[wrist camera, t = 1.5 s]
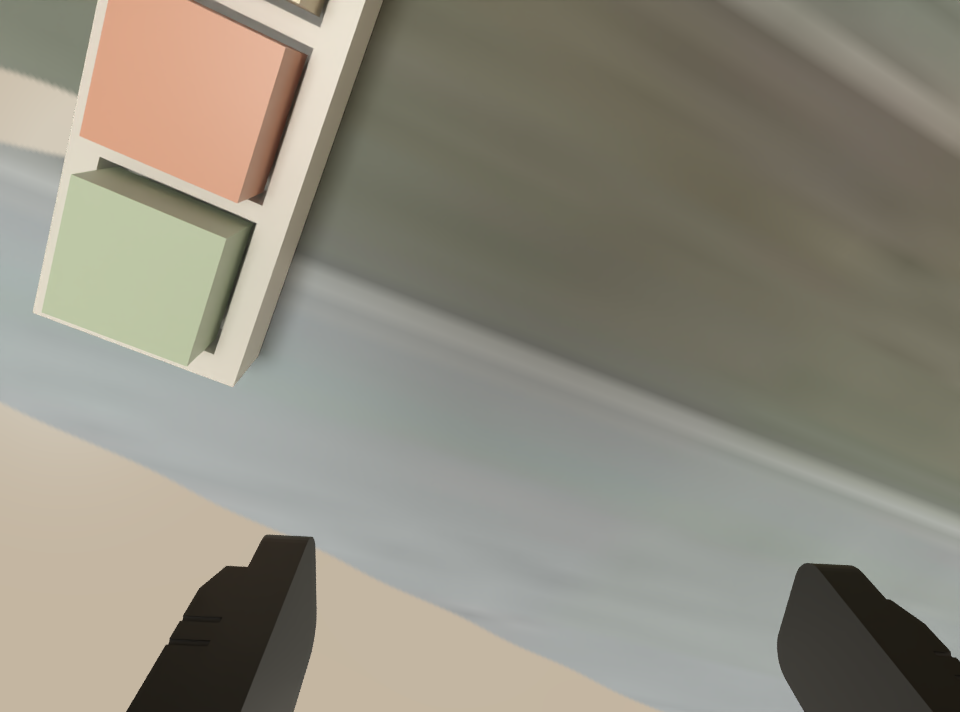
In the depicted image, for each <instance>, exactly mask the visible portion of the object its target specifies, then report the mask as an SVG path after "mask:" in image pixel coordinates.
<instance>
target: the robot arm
mask: <svg viewBox="0 0 960 712" xmlns="http://www.w3.org/2000/svg"><path fill="white" fill-rule="evenodd" d="M315 628H316V559H315V541H314V538H313V537H304V536H284V535H265V536H264V537H263V539H262V541H261V542H260V544H259V546H258V548H257V550H256V552H255V554H254V556H253V558H252V560H251V562H250V564H249V566H248V567H237V566H226V567H225V568H223V569H222V570H221V571H220V572H219V573H218V574H216V575H215V576H214V577H213V578H211V579H210V580H209V581H208V582H206V583H205V584H204V585H203V586H202V587H201V588H199V590H198V591H197V593H196V595H195V597H194V598H193V600H192V602H191V603H190V605H189V607H188V608H187V610H186V612H185V613H184V615H183V620H182V621H180V622H179V624H178V625H177V627H176V629H175V631H174V632H173V634H172V635H171V637H170V641H169V644H168V645H166V646H165V647H164V649H163V651H162V653H161V654H160V656H159V657H158V659H157V661H156V662H155V664H154V666H153V668H152V669H151V671H150V673H149V674H148V676H147V678H146V680H145V681H144V683H143V684H142V686H141V688H140V689H139V691H138V693H137V695H136V696H135V698H134V700H133V701H132V703H131V705H130V706H129V708H128V710H127V711H126V712H294V708H295V705H296V702H297V698H298V695H299V692H300V689H301V685H302V682H303V679H304V675H305V672H306V669H307V665H308V662H309V659H310V655H311V652H312V647H313V642H314V636H315ZM777 652H778V659H779V664H780V667H781V670H782V673H783V675H784V677H785V679H786V681H787V683H788V684H789V686H790V688H791V690H792V691H793V693H794V695H795V696H796V698H797V700H798V702H799V703H800V705H801V707H802V708H803V710H804V712H960V661H959V660H958V659H957V658H954V657H952V656H951V652H950V651H949V649H948V648H947V647H946V646H945V645H944V644H943V643H942V642H941V641H940V640H939V639H938V638H937V637H936V635H935V634H934V633H933V632H932V631H931V630H930V629H929V628H928V627H927V626H926V625H925V624H924V623H923V622H921V621H920V620H919V619H917V618H916V617H914V616H913V615H911V614H910V613H909V612H907V611H906V610H904V609H903V608H902V607H900V606H899V605H897V604H896V603H894V602H893V601H892V600H889V599H886V598H885V597H884V596H883V595H882V594H881V593H880V592H879V591H878V590H877V588H876V587H875V586H874V585H873V584H872V583H871V582H870V581H869V579H868V578H867V577H866V576H865V575H864V574H863V573H862V572H861V571H860V570H859V569H858V568H856V567H854V566H850V565H832V564H812V563H806V564H803V565H802V566H801V567H800V568H799V569H798V571H797V573H796V576H795V580H794V583H793V586H792V590H791V593H790V597H789V600H788V603H787V607H786V610H785V614H784V617H783V621H782V624H781V627H780V631H779V634H778V640H777Z"/></svg>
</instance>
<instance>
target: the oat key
mask: <svg viewBox="0 0 960 712" xmlns="http://www.w3.org/2000/svg"><path fill="white" fill-rule="evenodd" d="M285 1H288V2H290V3H292V4H294V5H296V6H298V7H300V8H302V9H304V10H306V11H308V12H310V13H312V14H314V15H316V16H318V17H320V15H321V12H322V9H323V5H324V2H325V0H285Z"/></svg>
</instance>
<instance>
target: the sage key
mask: <svg viewBox="0 0 960 712" xmlns="http://www.w3.org/2000/svg"><path fill="white" fill-rule="evenodd" d="M252 226H253V223H250V222H248V221H245V220H243V219H241V218H238V217H236V216H234V215H231V214H229V213H227V212H224V211H222V210H219V209H217V208H215V207H212V206H210V205H208V204H205V203H203V202H201V201H198V200H196V199H193V198H191V197H189V196H186V195H184V194H182V193H179V192H177V191H175V190H172V189H170V188H167V187H165V186H163V185H160V184H158V183H156V182H153V181H151V180H148V179H146V178H144V177H141V176H139V175H137V174H134V173H132V172H130V171H127V170H125V169H122V168H120V167H118V166H116V167H111V168H105V169H99V170H93V171H87V172H81V173H75V174H71V177H70V182H69V186H68V191H67V196H66V200H65V205H64V210H63V214H62V219H61V224H60V228H59V233H58V238H57V242H56V247H55V252H54V256H53V261H52V266H51V270H50V275H49V280H48V284H47V289H46V294H45V298H44V303H43V308H42V313H45V314H47V315H50V316H53V317H55V318H58V319H61V320H63V321H66V322H69V323H71V324H74V325H77V326H79V327H82V328H85V329H87V330H90V331H93V332H95V333H98V334H101V335H103V336H106V337H109V338H111V339H114V340H117V341H120V342H122V343H125V344H128V345H130V346H133V347H136V348H138V349H141V350H144V351H146V352H149V353H152V354H154V355H157V356H160V357H162V358H165V359H168V360H170V361H173V362H176V363H178V364H181V365H184V366H186V367H187V366H188V365H189V364H190V363H191V362H192V361H193V360H194V359H195V358H196V357H197V356H199V355H200V354H201V353H202V352H203V351H204V350H205V349H206V348H207V347H208V346H209V345H210V344H211V343H212V342H213V341H214V340H215V339H216V337H217V334H218V331H219V328H220V325H221V322H222V319H223V316H224V313H225V309H226V306H227V303H228V300H229V297H230V294H231V291H232V288H233V285H234V282H235V278H236V275H237V272H238V269H239V266H240V263H241V260H242V257H243V254H244V250H245V247H246V244H247V241H248V238H249V235H250V232H251V229H252Z"/></svg>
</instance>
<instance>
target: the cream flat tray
mask: <svg viewBox="0 0 960 712" xmlns="http://www.w3.org/2000/svg"><path fill="white" fill-rule="evenodd" d="M194 1H196V2H198V3H200V4H202V5H204V6H206V7H208V8H210V9H212V10H215V11H217V12H219V13H221V14H223V15H225V16H227V17H229V18H231V19H233V20H235V21H237V22H240V23H242V24H244V25H246V26H248V27H250V28H252V29H254V30H256V31H258V32H260V33H262V34H265V35H267V36H269V37H271V38H273V39H275V40H277V41H279V42H281V43H283V44H285V45H287V46H290V47H292V48H294V49H296V50H298V51H300V52H302V53H304V54H306V55H307V58H306V61H305V64H304V67H303V71H302V74H301V77H300V80H299V83H298V86H297V89H296V92H295V95H294V98H293V102H292V105H291V108H290V111H289V114H288V117H287V120H286V123H285V126H284V130H283V133H282V136H281V139H280V142H279V145H278V148H277V151H276V154H275V157H274V161H273V164H272V167H271V170H270V173H269V176H268V179H267V182H266V185H265V188H264V192H263V193H260V194H258V195H256V196H253V197H251V198H249V199H246V200H244V201H242V202H239V203H235V202H233V201H231V200H228V199H226V198H224V197H221V196H219V195H217V194H214V193H212V192H209V191H207V190H205V189H202V188H200V187H198V186H195V185H193V184H191V183H188V182H186V181H184V180H181V179H179V178H177V177H174V176H172V175H170V174H167V173H165V172H163V171H160V170H158V169H156V168H153V167H151V166H149V165H146V164H144V163H142V162H139V161H137V160H135V159H132V158H130V157H127V156H125V155H123V154H120V153H118V152H116V151H113V150H111V149H109V148H106V147H104V146H102V145H99V144H97V143H95V142H92V141H90V140H88V139H85V138H83V137H81V136H79V135H80V130H81V125H82V121H83V116H84V111H85V107H86V102H87V97H88V93H89V88H90V83H91V79H92V74H93V69H94V65H95V60H96V55H97V51H98V46H99V41H100V37H101V32H102V27H103V23H104V18H105V13H106V9H107V4H108V0H98V2H97V7H96V12H95V17H94V21H93V26H92V31H91V36H90V40H89V45H88V50H87V55H86V60H85V64H84V69H83V74H82V79H81V84H80V88H79V93H78V98H77V103H76V108H75V112H74V117H73V122H72V127H71V132H70V137H69V141H68V146H67V151H66V155H65V160H64V165H63V170H62V175H61V179H60V184H59V189H58V194H57V199H56V203H55V208H54V213H53V218H52V222H51V227H50V232H49V237H48V242H47V246H46V251H45V256H44V261H43V266H42V270H41V275H40V280H39V285H38V290H37V294H36V299H35V304H34V309H33V313H35V314H38V315H40V316H43V317H46V318H49V319H51V320H54V321H57V322H59V323H62V324H65V325H67V326H70V327H73V328H75V329H78V330H81V331H83V332H86V333H89V334H91V335H94V336H97V337H100V338H102V339H105V340H108V341H110V342H113V343H116V344H118V345H121V346H124V347H126V348H129V349H132V350H134V351H137V352H140V353H142V354H145V355H148V356H151V357H153V358H156V359H159V360H161V361H164V362H167V363H169V364H172V365H175V366H177V367H180V368H183V369H185V370H188V371H191V372H193V373H196V374H199V375H202V376H204V377H207V378H210V379H212V380H215V381H218V382H220V383H223V384H226V385H228V386H231V387H234V385H235V384H236V383H237V382H238V380H239V379H240V378H241V377H242V375H243V374H244V373H245V372H246V371H247V369H248V368H249V367H250V366H251V364H252V363H253V362H254V361H255V359H256V358H257V357H258V355H259V352H260V350H261V347H262V344H263V341H264V338H265V335H266V332H267V330H268V327H269V324H270V321H271V318H272V315H273V313H274V310H275V307H276V304H277V301H278V298H279V295H280V293H281V290H282V287H283V284H284V281H285V278H286V276H287V273H288V270H289V267H290V264H291V261H292V258H293V256H294V253H295V250H296V247H297V244H298V241H299V239H300V236H301V233H302V230H303V227H304V224H305V221H306V219H307V216H308V213H309V210H310V207H311V204H312V202H313V199H314V196H315V193H316V190H317V187H318V184H319V182H320V179H321V176H322V173H323V170H324V167H325V165H326V162H327V159H328V156H329V153H330V150H331V147H332V145H333V142H334V139H335V136H336V133H337V130H338V128H339V125H340V122H341V119H342V116H343V113H344V110H345V108H346V105H347V102H348V99H349V96H350V93H351V91H352V88H353V85H354V82H355V79H356V76H357V73H358V71H359V68H360V65H361V62H362V59H363V56H364V54H365V51H366V48H367V45H368V42H369V39H370V36H371V34H372V31H373V28H374V25H375V22H376V19H377V17H378V14H379V11H380V8H381V5H382V2H383V0H325V2H324V5H323V9H322V12H321V15H320V17H318V16H316V15H314V14H312V13H310V12H308V11H306V10H304V9H302V8H300V7H298V6H296V5H294V4H292V3H290V2H288V1H285V0H194ZM116 166H118V167H120V168H122V169H125V170H127V171H130V172H132V173H134V174H137V175H139V176H141V177H144V178H146V179H148V180H151V181H153V182H156V183H158V184H160V185H163V186H165V187H167V188H170V189H172V190H175V191H177V192H179V193H182V194H184V195H186V196H189V197H191V198H193V199H196V200H198V201H201V202H203V203H205V204H208V205H210V206H212V207H215V208H217V209H219V210H222V211H224V212H227V213H229V214H231V215H234V216H236V217H238V218H241V219H243V220H245V221H248V222H250V223H253V226H252V229H251V232H250V235H249V238H248V241H247V244H246V247H245V250H244V254H243V257H242V260H241V263H240V266H239V269H238V272H237V275H236V278H235V282H234V285H233V288H232V291H231V294H230V297H229V300H228V303H227V306H226V309H225V313H224V316H223V319H222V322H221V325H220V328H219V331H218V334H217V337H216V339H215V340H214V341H213V342H212V343H211V344H210V345H209V346H208V347H207V348H206V349H205V350H204V351H203V352H202V353H201V354H200V355H199V356H197V357H196V358H195V359H194V360H193V361H192V362H191V363H190V364H189V365H188V366H187V367H186V366H184V365H181V364H178V363H176V362H173V361H170V360H168V359H165V358H162V357H160V356H157V355H154V354H152V353H149V352H146V351H144V350H141V349H138V348H136V347H133V346H130V345H128V344H125V343H122V342H120V341H117V340H114V339H111V338H109V337H106V336H103V335H101V334H98V333H95V332H93V331H90V330H87V329H85V328H82V327H79V326H77V325H74V324H71V323H69V322H66V321H63V320H61V319H58V318H55V317H53V316H50V315H47V314H45V313H42V308H43V303H44V298H45V294H46V289H47V284H48V280H49V275H50V270H51V266H52V261H53V256H54V252H55V247H56V242H57V238H58V233H59V228H60V224H61V219H62V214H63V210H64V205H65V200H66V196H67V191H68V186H69V182H70V177H71V174H75V173H81V172H87V171H93V170H99V169H105V168H111V167H116Z"/></svg>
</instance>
